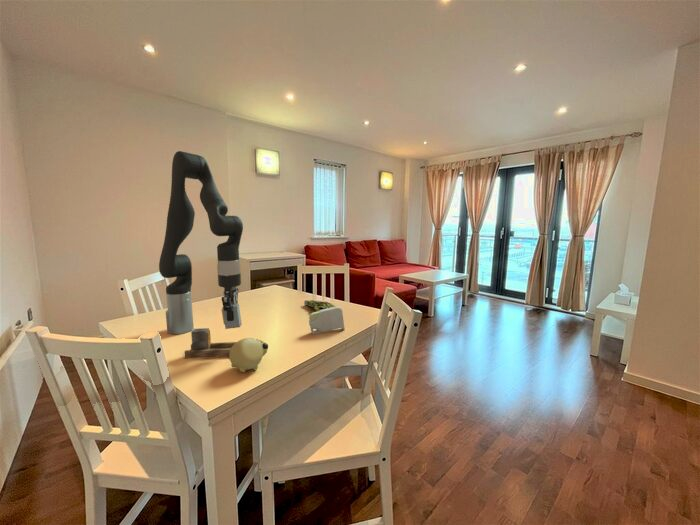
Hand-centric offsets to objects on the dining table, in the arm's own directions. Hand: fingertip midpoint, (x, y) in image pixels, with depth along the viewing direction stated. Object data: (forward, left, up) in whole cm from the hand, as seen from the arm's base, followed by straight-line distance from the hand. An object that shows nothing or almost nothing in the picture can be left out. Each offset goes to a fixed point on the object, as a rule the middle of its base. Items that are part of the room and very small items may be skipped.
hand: (231, 318), depth 106 cm
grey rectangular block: (+1, 0, -3) cm, 3 cm away
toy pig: (+8, -13, -13) cm, 20 cm away
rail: (-6, 0, -13) cm, 14 cm away
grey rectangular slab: (+36, +17, -13) cm, 41 cm away
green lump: (+34, +47, -13) cm, 59 cm away
